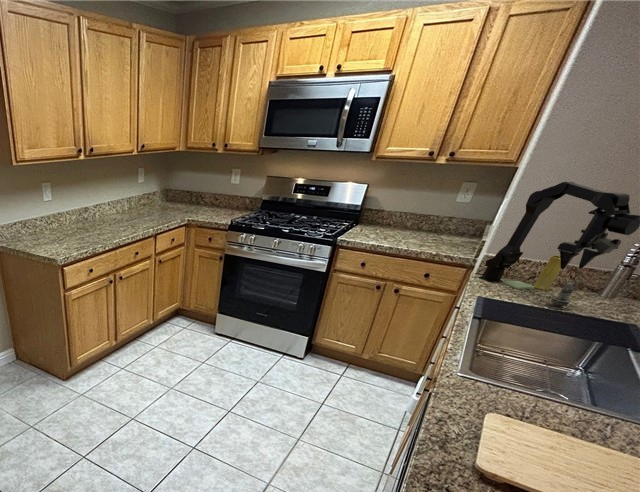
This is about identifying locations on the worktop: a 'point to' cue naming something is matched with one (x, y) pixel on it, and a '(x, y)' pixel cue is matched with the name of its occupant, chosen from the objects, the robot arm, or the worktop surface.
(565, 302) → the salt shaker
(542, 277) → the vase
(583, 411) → the worktop surface
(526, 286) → the mat
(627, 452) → the worktop surface
